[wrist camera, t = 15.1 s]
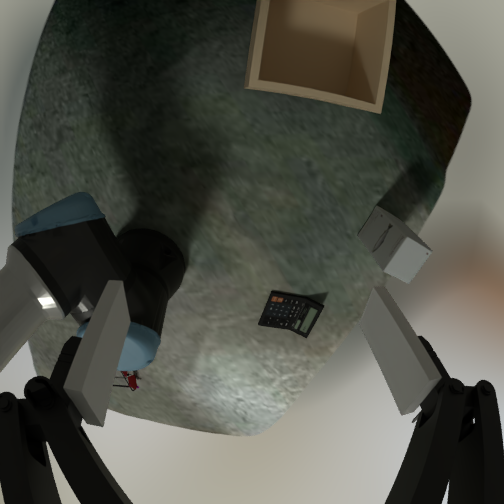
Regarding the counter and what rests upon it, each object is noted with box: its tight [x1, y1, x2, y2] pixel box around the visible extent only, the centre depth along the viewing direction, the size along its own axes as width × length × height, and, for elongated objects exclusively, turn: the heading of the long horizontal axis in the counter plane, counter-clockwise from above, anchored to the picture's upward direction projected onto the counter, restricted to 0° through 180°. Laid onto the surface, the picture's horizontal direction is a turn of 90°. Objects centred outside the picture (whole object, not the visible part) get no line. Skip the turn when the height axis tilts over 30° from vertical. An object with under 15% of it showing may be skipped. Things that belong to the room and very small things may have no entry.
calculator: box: [258, 291, 324, 338], centre depth 63 cm, size 9×12×3 cm
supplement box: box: [357, 205, 432, 284], centre depth 50 cm, size 7×7×13 cm
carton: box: [244, 0, 396, 114], centre depth 32 cm, size 17×18×12 cm
